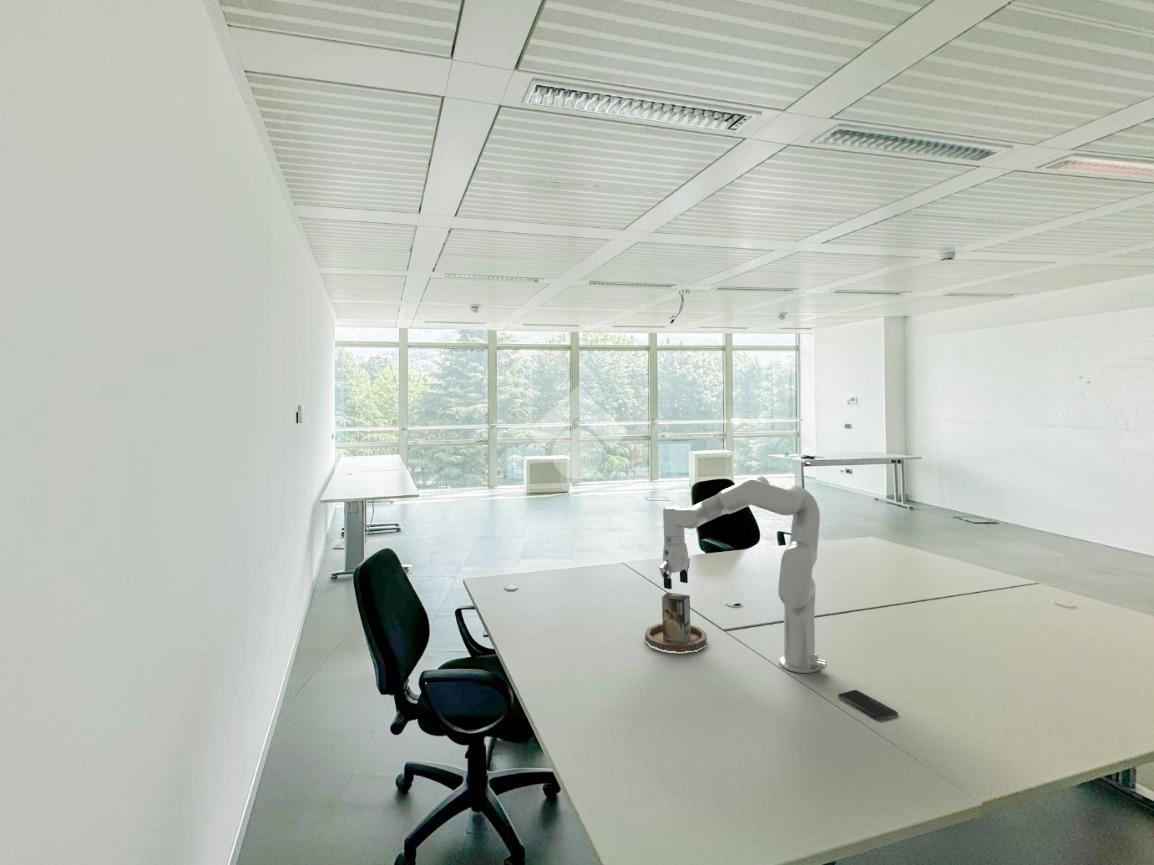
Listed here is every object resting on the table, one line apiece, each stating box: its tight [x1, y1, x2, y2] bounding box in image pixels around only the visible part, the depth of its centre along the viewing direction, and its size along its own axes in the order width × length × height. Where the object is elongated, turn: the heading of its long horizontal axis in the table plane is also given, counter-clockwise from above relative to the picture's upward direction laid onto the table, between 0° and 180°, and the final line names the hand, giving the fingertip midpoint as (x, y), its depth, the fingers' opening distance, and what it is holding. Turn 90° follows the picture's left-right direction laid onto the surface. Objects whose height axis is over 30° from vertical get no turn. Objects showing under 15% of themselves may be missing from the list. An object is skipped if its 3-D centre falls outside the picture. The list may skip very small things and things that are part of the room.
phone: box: [837, 689, 899, 721], centre depth 168 cm, size 8×1×15 cm
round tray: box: [644, 622, 707, 652], centre depth 218 cm, size 22×22×3 cm
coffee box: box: [661, 592, 691, 643], centre depth 217 cm, size 9×6×16 cm
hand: (676, 585), depth 217 cm, fingers open, 9 cm apart
